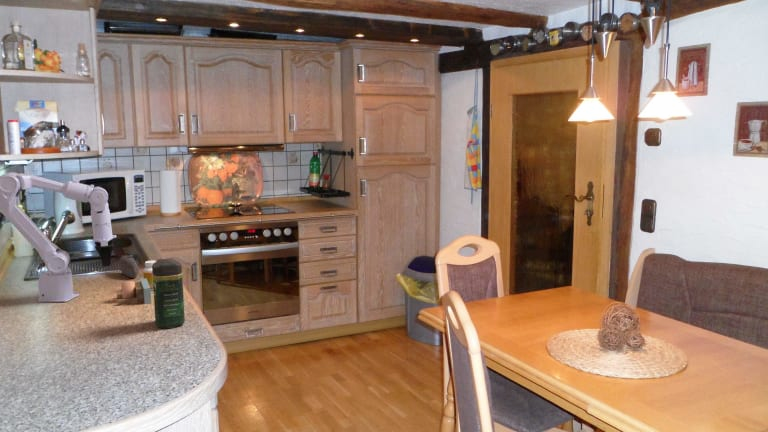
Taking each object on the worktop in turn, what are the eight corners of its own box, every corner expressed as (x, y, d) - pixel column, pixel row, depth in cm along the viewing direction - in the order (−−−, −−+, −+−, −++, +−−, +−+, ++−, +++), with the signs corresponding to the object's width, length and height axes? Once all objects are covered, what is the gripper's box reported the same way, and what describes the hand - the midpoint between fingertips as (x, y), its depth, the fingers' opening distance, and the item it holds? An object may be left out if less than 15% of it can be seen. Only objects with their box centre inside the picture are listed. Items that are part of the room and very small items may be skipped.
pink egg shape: (120, 302, 196) (119, 284, 195) (125, 298, 200) (124, 280, 199) (133, 302, 196) (131, 283, 195) (137, 298, 200) (136, 280, 199)
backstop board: (144, 304, 193) (143, 288, 193) (141, 293, 206) (140, 279, 205) (151, 303, 194) (150, 288, 193) (147, 292, 207) (146, 278, 206)
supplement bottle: (155, 291, 208) (153, 263, 207) (141, 290, 209) (139, 263, 208) (164, 287, 213) (162, 260, 212) (150, 286, 214) (148, 259, 213)
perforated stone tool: (142, 279, 226) (141, 260, 224) (127, 281, 223) (126, 262, 222) (132, 271, 238) (131, 253, 237) (118, 273, 235) (117, 255, 234)
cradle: (118, 305, 192) (117, 291, 191) (117, 298, 200) (116, 284, 200) (143, 302, 195) (142, 288, 195) (141, 295, 204) (140, 281, 203)
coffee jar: (187, 326, 171) (183, 261, 169) (157, 330, 168) (153, 265, 165) (182, 316, 180) (178, 255, 177) (154, 320, 177) (149, 258, 174)
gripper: (115, 225, 197) (120, 266, 199) (113, 219, 210) (118, 257, 212) (91, 228, 194) (96, 269, 196) (91, 221, 207) (96, 260, 209)
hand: (106, 263), depth 204 cm, fingers open, 7 cm apart
